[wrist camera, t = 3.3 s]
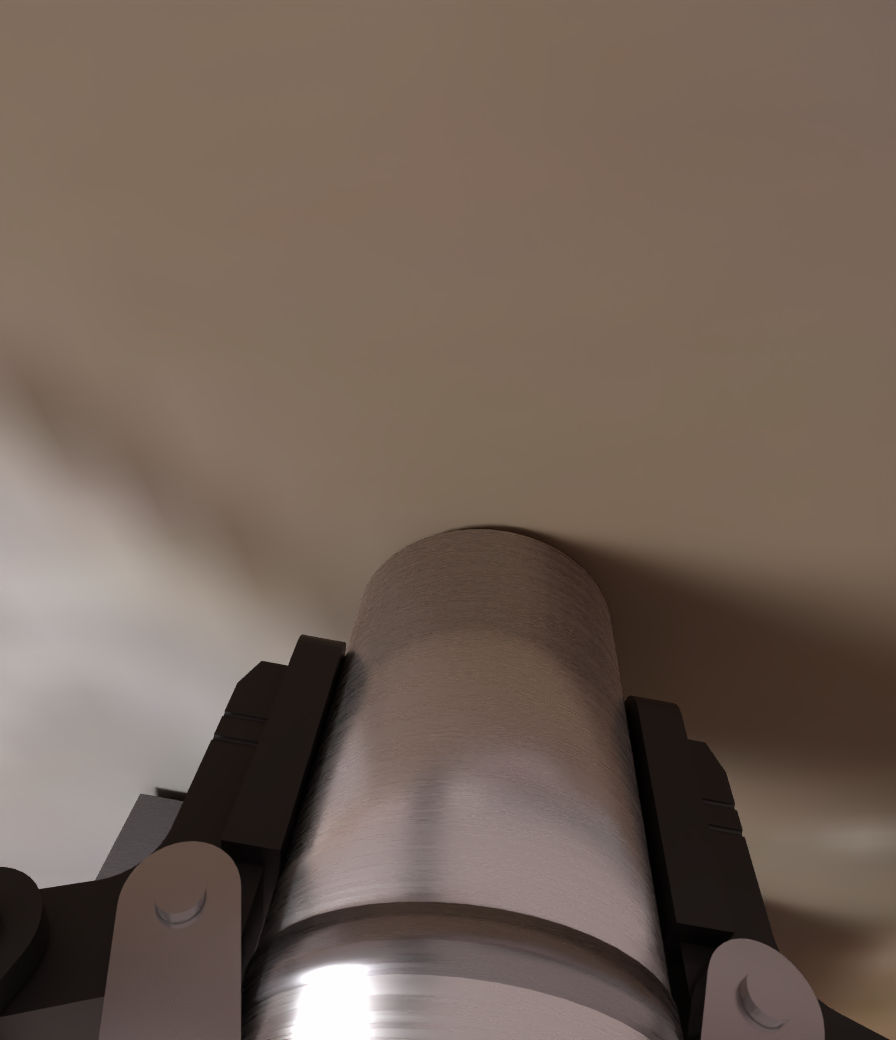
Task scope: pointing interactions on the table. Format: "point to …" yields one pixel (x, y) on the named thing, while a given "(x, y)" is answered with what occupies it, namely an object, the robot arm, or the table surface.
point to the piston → (469, 820)
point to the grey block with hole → (141, 834)
